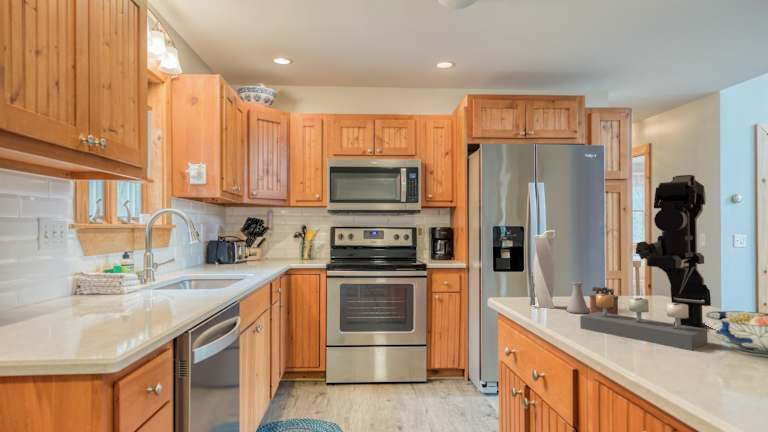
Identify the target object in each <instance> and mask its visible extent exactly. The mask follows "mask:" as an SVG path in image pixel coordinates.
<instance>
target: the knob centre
mask: <svg viewBox="0 0 768 432" xmlns="http://www.w3.org/2000/svg"><path fill="white" fill-rule="evenodd" d="M628 303H629V304H628V306H629V311H630V312H633V313H636V318H637V323H642V319H643V318H642V313H648V312H649V311H650V310H649V306H650V305H649V299H647V298H642V297H630V298H629V299H628Z"/></svg>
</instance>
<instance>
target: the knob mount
mask: <svg viewBox="0 0 768 432" xmlns="http://www.w3.org/2000/svg"><path fill="white" fill-rule="evenodd" d="M579 319H580V329H583V330H587V331H592V332H597V333H603V334H606V335H612V336H617V337H622V338H626V339H632V340H638V341H643V342H648V343H653V344H657V345H661V346H666V347H673V348H677V349H681V350H686V351H687V350H688V351H694V350H697V349H698V348H701V347H704V346H705V345H707V344H708V343H709V341H708V329H707V328H703V327H701V328H697V327H691V326H684V325H681V330H678V329H675V324H674V323H672V322H665V321H659V320H652V319H646V318H641V319H642V323H637V317H633V316H627V315H622V314H618V315H616V314H610V313H607V317H603V312H595V313H591V314H590V313H585V314H583V315H580V318H579ZM706 329H707V330H706Z"/></svg>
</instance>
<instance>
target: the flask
mask: <svg viewBox="0 0 768 432" xmlns="http://www.w3.org/2000/svg"><path fill="white" fill-rule="evenodd" d="M571 284H572V293H571V297H570V299H569V302H568V306H567V308H566V312H569V313H572V314H573V313H574V314H590V313H589V312H590V309H589V308H588V305H587V302H586V299H585V297H584V295H583V289H582V285H583V282H580V281H572V282H571Z"/></svg>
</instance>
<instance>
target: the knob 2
mask: <svg viewBox="0 0 768 432" xmlns="http://www.w3.org/2000/svg"><path fill="white" fill-rule="evenodd" d="M666 316H667V317H670V318H674V322H675V329H678V330H681V322H680V318H689V316H688V305H687V304H682V303H672V302H667V303H666Z"/></svg>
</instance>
